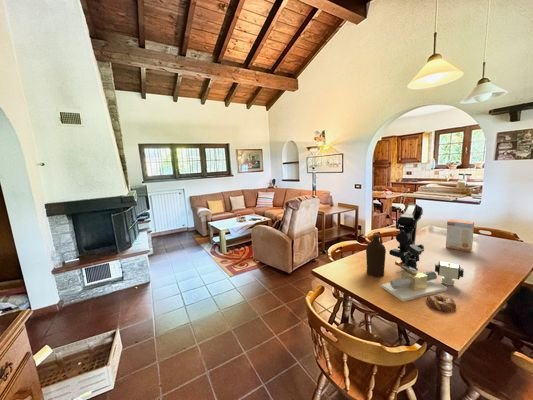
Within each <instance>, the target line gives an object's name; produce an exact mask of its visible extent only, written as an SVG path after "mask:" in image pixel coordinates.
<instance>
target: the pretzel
mask: <svg viewBox="0 0 533 400" xmlns="http://www.w3.org/2000/svg"><path fill="white" fill-rule="evenodd" d="M426 302H427V304H428V306H430V307H431V308H433V310H437V311H442V312H444V313H451V311H453V310H455V309H457V304H456V302H455V300H454V299H453V298H452V297H447V296H446V297H445V296H444V295H441V294H439V295H437V294H430V295H427V297H426Z"/></svg>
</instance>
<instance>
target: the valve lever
mask: <svg viewBox="0 0 533 400" xmlns="http://www.w3.org/2000/svg"><path fill="white" fill-rule="evenodd" d="M394 263H395V264H394V265H395V266H397V267H400V268H402V267H403V268H402V269H404V268H405V269H404V270H406V269H407V270H409V271H411V273H412V274H417V271H418V270H417V271H416V269H414V268H412V267H410V266H407V265H405V263H403V262H402V261H401V260H397V261H396V260H395V262H394Z"/></svg>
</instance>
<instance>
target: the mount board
mask: <svg viewBox="0 0 533 400" xmlns="http://www.w3.org/2000/svg"><path fill="white" fill-rule="evenodd" d="M381 288H382V289H384V290H385V291H387V292H388V293H389V294H391V295H393V296H394V297H396V298H397V299H398V300H400V301H402V302H407V301H411V300H414V299H418V298H422V297H426V296H430V295H435V294H437V293H441V292H444V291H448V287H447V286H445V285H444V284H441V283H439V282H437V281H435V280H431V281H427V288H426V289H422V290H418V291H413V290H411V289H409V288H408V287H402V288H398V289H394V288H392V286H391V284H390V282H386V283H383V284H381Z"/></svg>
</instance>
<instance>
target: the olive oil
mask: <svg viewBox="0 0 533 400" xmlns="http://www.w3.org/2000/svg"><path fill="white" fill-rule="evenodd" d="M386 250H387V249H386V247H385V244H383V243H382V242H381V241H380V233H373V234H372V240H371V241H370V242H368V243H367V245H366V247H365V254H366V255H365V257H366V273H367V275H369V276H371V277H374V278H383V277H384V276H385V263H386V253H387V251H386Z"/></svg>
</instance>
